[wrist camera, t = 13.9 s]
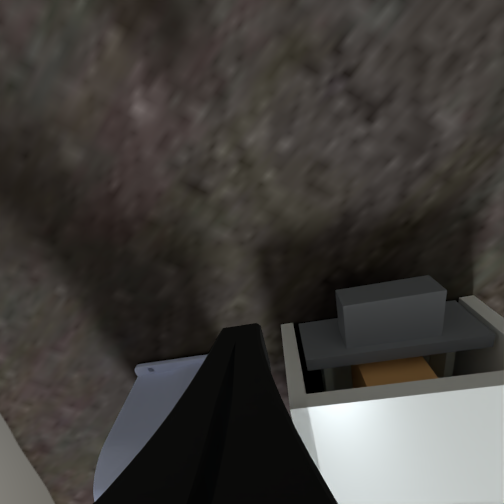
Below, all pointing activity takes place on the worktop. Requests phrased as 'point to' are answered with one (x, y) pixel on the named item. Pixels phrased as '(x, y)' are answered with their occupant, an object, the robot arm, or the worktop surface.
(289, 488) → the robot arm
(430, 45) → the worktop surface
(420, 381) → the white drawer box
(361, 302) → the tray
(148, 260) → the worktop surface
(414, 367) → the tan rectangular block
